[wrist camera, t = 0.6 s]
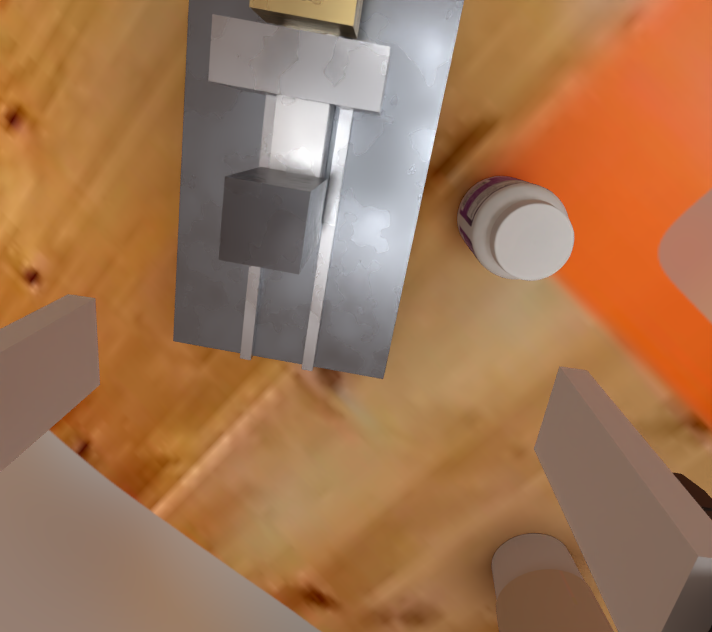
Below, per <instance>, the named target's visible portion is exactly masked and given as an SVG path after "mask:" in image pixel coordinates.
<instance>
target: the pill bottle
mask: <svg viewBox="0 0 712 632" xmlns="http://www.w3.org/2000/svg"><path fill="white" fill-rule="evenodd" d="M457 223H458V229H459V232H460V234H461V236H462V238H463V240H464V241H465V243H466V244H467V246H468V247H469V248H470V250H471V251H472V252H473V254H474V255H475V256H476V258H477V259H478V260H479V262H480V263H481V264H482V265H483V266H484V267H485V268H486V269H487V270H489V271H490V272H492V273H494V274H495V275H498V276H500V277H503V278H507V279H521V280H529V281H532V280H540V279H543V278H546V277H548V276H550V275H552V274H554V273H555V272H557V271H558V270H559V269H560V268H561V267H562V266H563V265H564V264H565V263H566V261H567V260H568V258H569V256H570V254H571V252H572V249H573V245H574V231H573V227H572V224H571V222H570V220H569V218H568V214H567V211H566V209H565V207H564V205H563V204H562V202H561V201H560V200H559V198H558V197H557V196H556V195H554V194H553V193H552V192H551V191H549V190H548V189H546V188H544V187H541V186H539V185H536V184H532V183H529V182H526V181H523V180H519V179H516V178H512V177H508V176H494V177H490V178H487V179H484V180H482V181H480V182H478V183H477V184H475V185H474V186H473V187H472V188H471V189H470V190H469V191H468V192H467V193H466V194H465V196H464V198H463V199H462V201H461V203H460V206H459V209H458V215H457Z"/></svg>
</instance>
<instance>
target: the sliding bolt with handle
mask: <svg viewBox="0 0 712 632" xmlns="http://www.w3.org/2000/svg"><path fill="white" fill-rule="evenodd" d="M284 27H286V28H291V29H297V30H302V31H308V32H313V33H318V34H324V35H329V36H335V37H340V38H345V37H343V36H338V35H332V34H327V33H321V32H316V31H310V30H305V29H300V28H294V27H289V26H284ZM334 107H335V105H331V104H326V103H320V102H315V101H309V100H304V99H298V98H293V97H287V96H282V95H277V99H276V108H275V118H274V127H273V137H272V146H271V156H270V165H269V168H265V167H258V168H254V169H250V170H247V171H243V172H239V173H235V174H232V175H228V176H225V181H224V194H223V207H222V221H221V234H220V247H219V260H222V261H227V262H233V263H238V264H244V265H249V266H255V267H260V268H266V269H272V270H277V271H283V272H288V273H294V274H300V272H301V271H302V269H303V268H304V266H305V264H306V263H307V261H308V260H309V258H310V256H311V255H312V253H313V251H314V250H315V248H316V247H317V245H318V240H319V233H320V226H321V219H322V212H323V206H324V199H325V192H326V185H327V179H325V178H324V177H325V170H326V163H327V156H328V149H329V142H330V135H331V128H332V121H333V114H334Z"/></svg>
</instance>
